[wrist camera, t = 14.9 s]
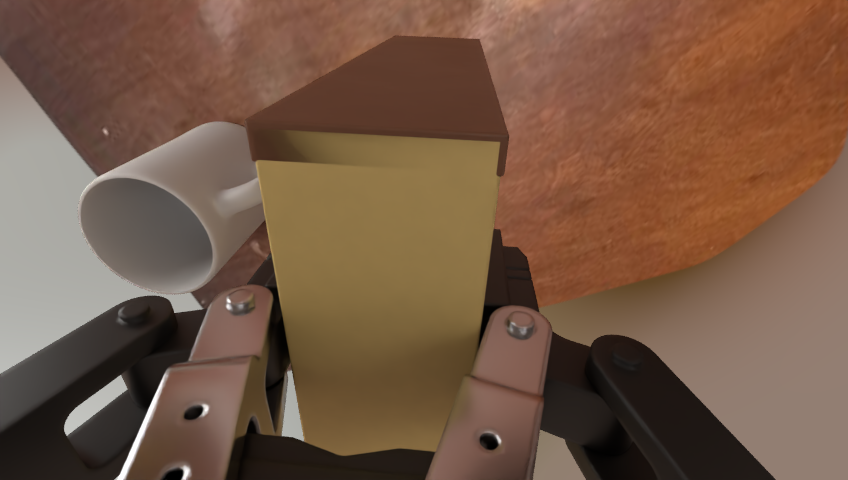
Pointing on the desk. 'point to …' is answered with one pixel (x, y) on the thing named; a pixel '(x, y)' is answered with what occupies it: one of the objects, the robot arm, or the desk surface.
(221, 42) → the desk surface
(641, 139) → the desk surface
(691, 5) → the desk surface
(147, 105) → the desk surface
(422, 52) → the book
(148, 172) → the mug
